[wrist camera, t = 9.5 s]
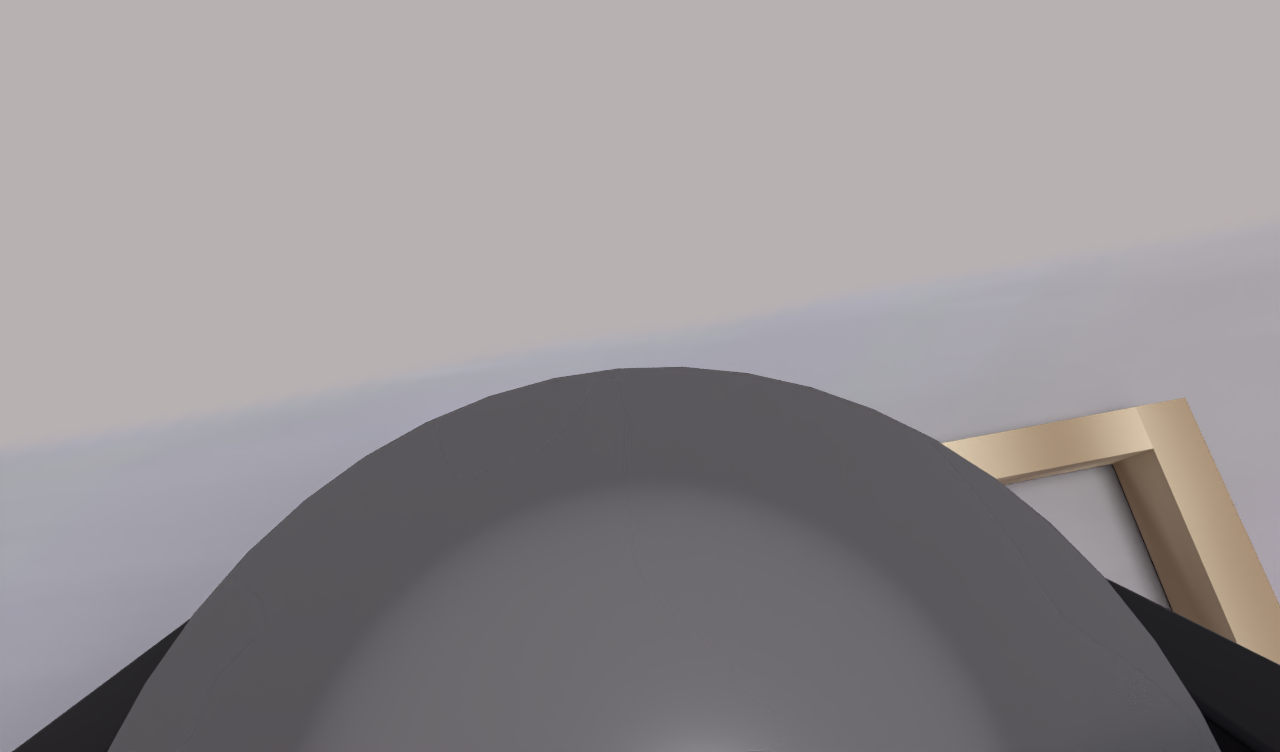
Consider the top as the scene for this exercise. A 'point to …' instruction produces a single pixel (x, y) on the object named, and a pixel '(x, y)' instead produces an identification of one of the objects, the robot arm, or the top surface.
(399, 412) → the top surface
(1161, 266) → the top surface
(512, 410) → the steel pin
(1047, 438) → the socket rail
